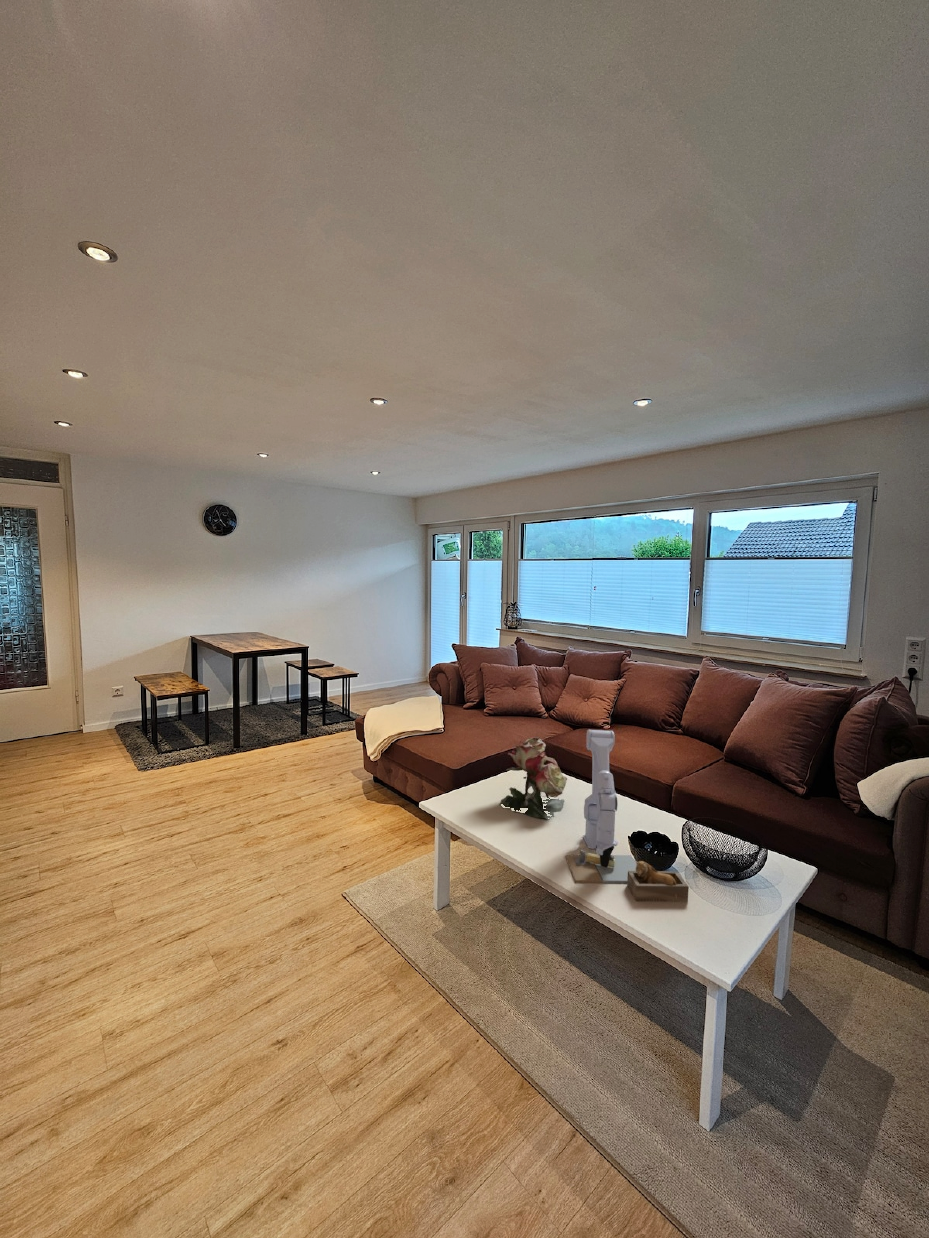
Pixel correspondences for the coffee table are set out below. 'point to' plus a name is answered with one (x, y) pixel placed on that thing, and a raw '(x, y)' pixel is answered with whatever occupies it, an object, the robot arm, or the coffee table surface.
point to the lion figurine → (653, 875)
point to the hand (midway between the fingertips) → (604, 865)
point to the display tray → (657, 888)
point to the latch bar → (596, 859)
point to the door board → (600, 869)
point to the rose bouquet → (536, 780)
